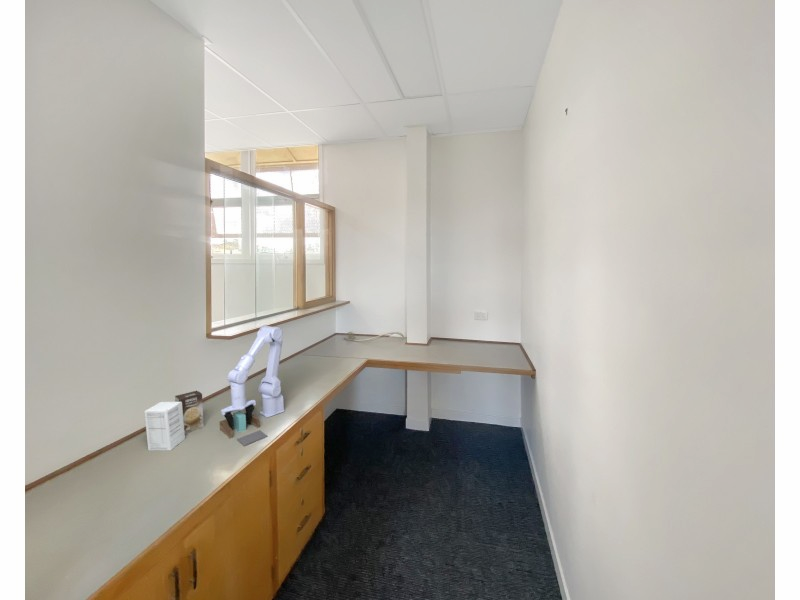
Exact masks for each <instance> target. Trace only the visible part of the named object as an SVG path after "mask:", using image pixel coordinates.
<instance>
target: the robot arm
mask: <svg viewBox="0 0 800 600" xmlns="http://www.w3.org/2000/svg"><path fill="white" fill-rule="evenodd" d="M283 333H284V332H283V329H281V328H280V327H279V326H269V325H265V324H264V325H261V326H260V327H259V330H258V331H257V332H256V338H255V339H254V342H253V343H252V345H251V346H250V349H249V351H248V352H247V353H245V354H243V355H242V356H241V358H240V359H239V361H238V363H237V364H236V366H235V367H234V368H233V369H232V370H230V371H229V372H228V375H227V377H226V379H227V381H228V382H229V385H230V398H231V399H230V400H231V405H229V406H227V407H225V408H222V409H221V410H220V414H221V415H222V416H224V418H225V419H227V422H228V424H229V427H230V428H231V429H232V430H233V428H234V426H233V423H232V419H233V413H234V412H237V411H241V410H245V413H246V423H250V419H251V415H252V414H253V412H254V410H255V408H256V407H255V406H256V405H257V403H256V400H255V399H251V400H247V399H246V382H247V380H248V377H249V375H248V374H249V371H250V369H251V368H252V367H253V365H254V363H255V362H256V361H255V360H256V356H257V355H258V354H259V352H260V350H261V349H262V348H263V347H264V345H265V344H269V345H270V346H269V353H268V359H267V366H266V371H265V376H264V377H263V378H261V381H260V384H259V385H258V392H259V394H260V395H261V399H262V410H261V411H259V414H260V415H263V416H264V417H265V418H266V419H267V418H270V417H273V416H276V415H279V414H281V413H284V412H285V407H284V406H285V405H284V396H283V394H282V393H281V391H282V387H281V383H282V382H281V380H280V379H279V377H278V373H279V368H280V361H281V360H280V359H281V355H282V347H283Z"/></svg>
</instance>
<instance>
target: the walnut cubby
mask: <svg viewBox="0 0 800 600" xmlns="http://www.w3.org/2000/svg"><path fill="white" fill-rule="evenodd" d="M242 413H243V412H242ZM243 414H245V415H246V412H244V413H243ZM232 423H233V427H234V421H233V419H232ZM249 424H251V425H253V427H255V428H256V429H259V428H260V418H259V417H257V416H256V415H254V414H253V413H252V415H251V419H250V422H249ZM219 430H220V431H221V432H222V433H223V434H224V435H226V437H227V438H229V439H232V438H233V428H232V429H231V428H230V427H229V424H228V422H227V419H226V418H225V419H222V420H220V421H219Z"/></svg>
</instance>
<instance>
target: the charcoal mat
mask: <svg viewBox="0 0 800 600" xmlns="http://www.w3.org/2000/svg"><path fill="white" fill-rule="evenodd" d="M265 438H268V435H267V434H266V433H264V432H263V431H262V430H261V429H260V430H257V431H254V432H251V433H249V434H247V435H246V434H245V435H244V436H241V437H239V438H237V439H236V441H237V442H238V443H240V444H241V445H242V446H243V447H246V446H248V445H251V444H253V443H256V442H258V441H260V440H263V439H265Z"/></svg>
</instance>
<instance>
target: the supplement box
mask: <svg viewBox="0 0 800 600" xmlns="http://www.w3.org/2000/svg"><path fill="white" fill-rule="evenodd" d="M144 420H145V433H146V440H147V441H146V442H147V451H148V452H149V451H153V452H154V451H156V452H157V451H161V452H166V451H168V452H169V451H172V450H173V449H175V448H176V447H178V445H179V444H181V443H182V442H183V441H185V440H186V436H185V434H186V433H185V432H184V421H183V409H182V402H175V401H160V402H157V403H156V404H155V405H153V406H151V407H149V408H148V409H145V410H144Z"/></svg>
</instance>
